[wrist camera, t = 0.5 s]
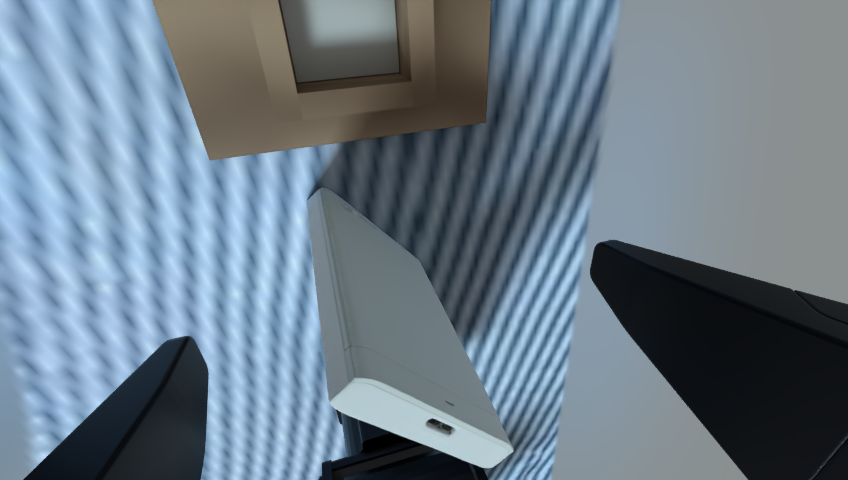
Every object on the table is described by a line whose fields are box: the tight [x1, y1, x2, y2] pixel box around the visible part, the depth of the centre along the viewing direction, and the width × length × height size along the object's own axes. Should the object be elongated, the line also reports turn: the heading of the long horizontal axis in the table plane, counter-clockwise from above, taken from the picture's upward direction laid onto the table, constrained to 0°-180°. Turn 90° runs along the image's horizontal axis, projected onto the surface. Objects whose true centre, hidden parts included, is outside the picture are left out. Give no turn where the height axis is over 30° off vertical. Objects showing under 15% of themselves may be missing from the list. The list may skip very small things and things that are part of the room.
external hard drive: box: [306, 188, 514, 468], centre depth 18 cm, size 2×8×12 cm, turn 41°
